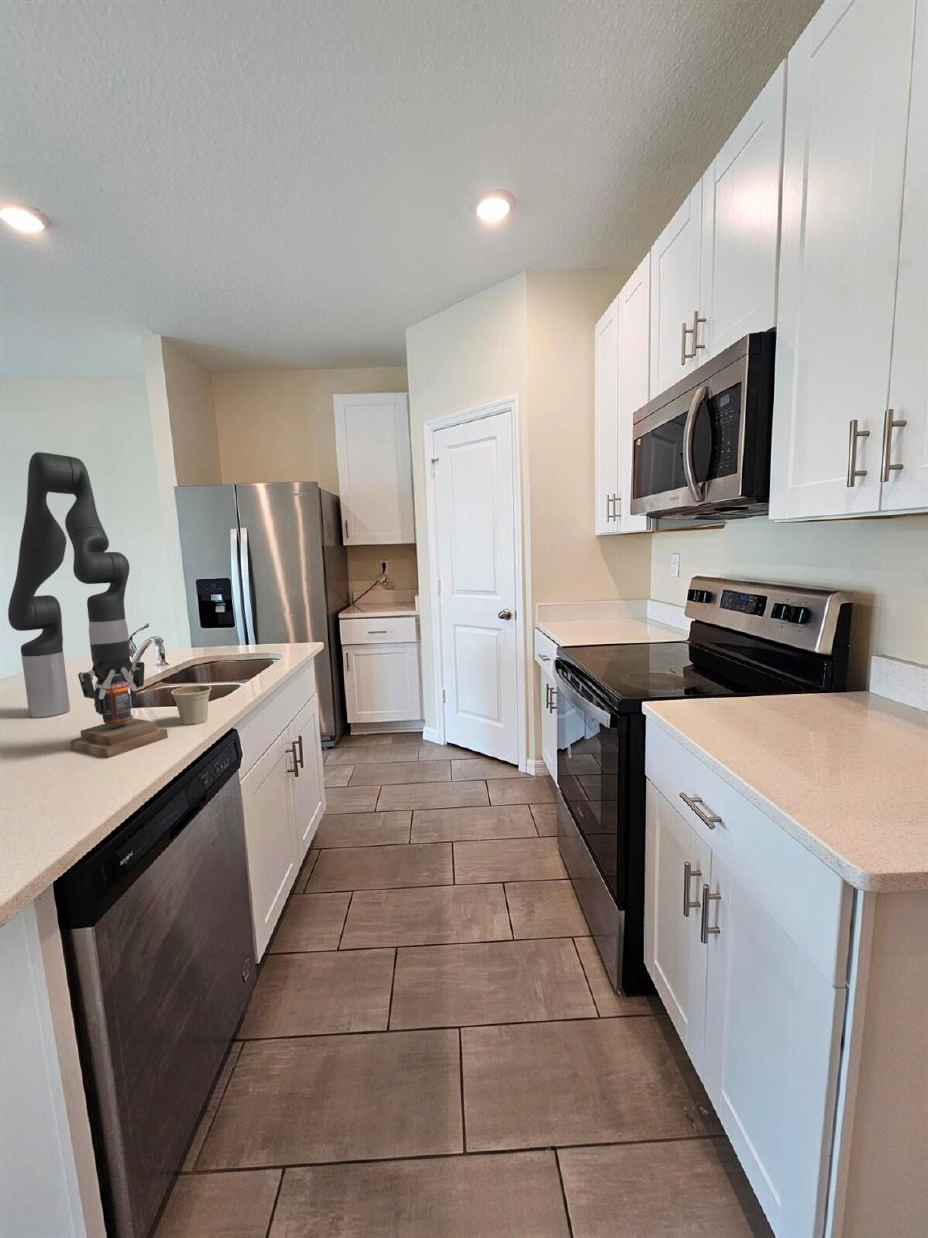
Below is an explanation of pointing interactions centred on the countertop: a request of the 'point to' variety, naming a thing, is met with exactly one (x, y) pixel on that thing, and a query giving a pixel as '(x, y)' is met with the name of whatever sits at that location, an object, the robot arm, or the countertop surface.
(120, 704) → the supplement bottle
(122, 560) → the robot arm
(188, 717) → the flower pot
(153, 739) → the base
